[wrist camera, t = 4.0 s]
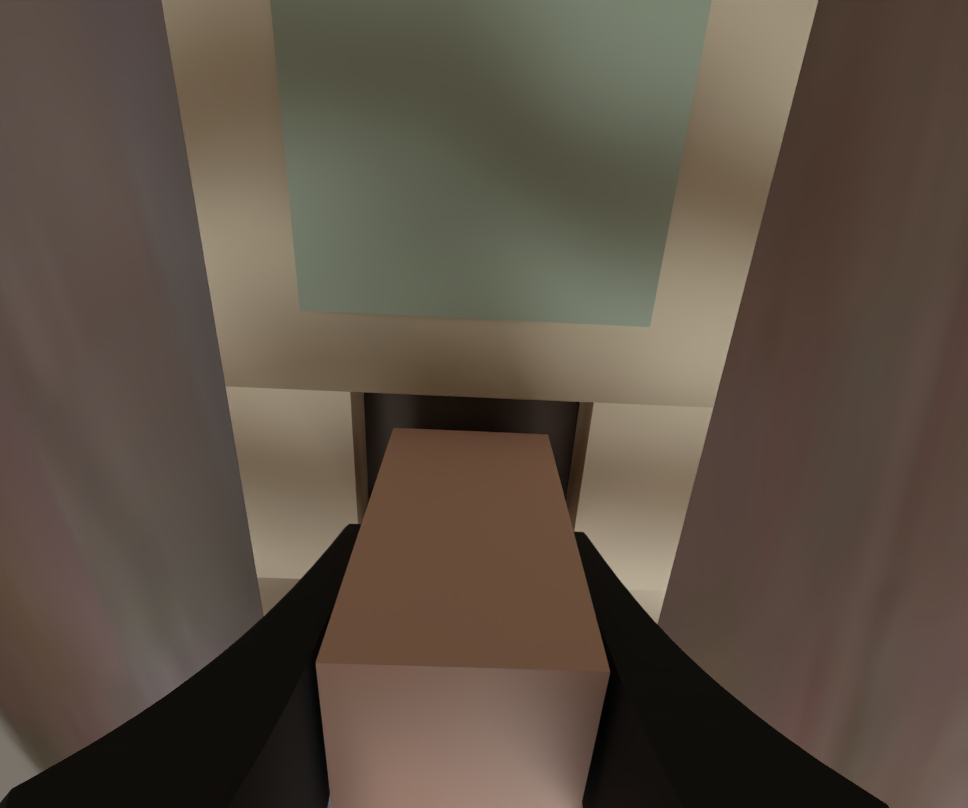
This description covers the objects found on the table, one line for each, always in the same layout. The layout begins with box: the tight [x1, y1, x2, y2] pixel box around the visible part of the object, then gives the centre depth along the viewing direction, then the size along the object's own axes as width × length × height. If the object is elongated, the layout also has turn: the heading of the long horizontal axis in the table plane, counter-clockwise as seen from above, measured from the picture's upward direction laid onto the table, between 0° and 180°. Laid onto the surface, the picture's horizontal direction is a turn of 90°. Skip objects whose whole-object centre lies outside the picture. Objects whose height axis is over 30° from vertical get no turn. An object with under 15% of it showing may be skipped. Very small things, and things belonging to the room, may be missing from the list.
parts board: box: [162, 0, 818, 624], centre depth 13 cm, size 20×12×2 cm, turn 177°
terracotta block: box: [316, 428, 610, 808], centre depth 11 cm, size 4×4×7 cm
